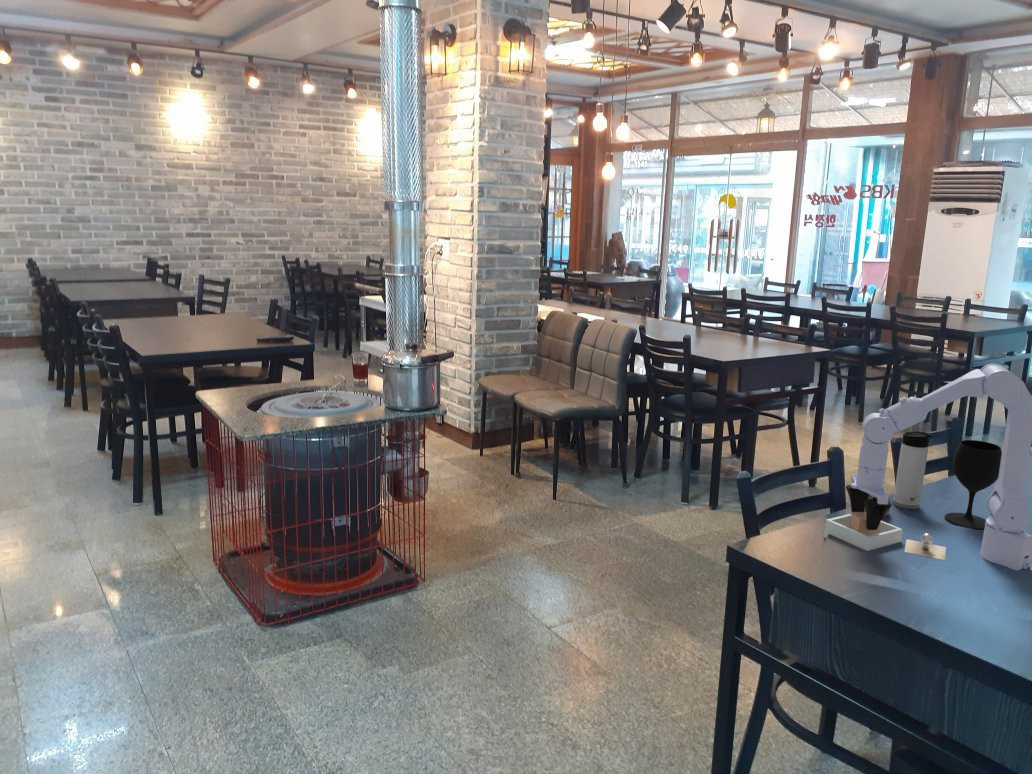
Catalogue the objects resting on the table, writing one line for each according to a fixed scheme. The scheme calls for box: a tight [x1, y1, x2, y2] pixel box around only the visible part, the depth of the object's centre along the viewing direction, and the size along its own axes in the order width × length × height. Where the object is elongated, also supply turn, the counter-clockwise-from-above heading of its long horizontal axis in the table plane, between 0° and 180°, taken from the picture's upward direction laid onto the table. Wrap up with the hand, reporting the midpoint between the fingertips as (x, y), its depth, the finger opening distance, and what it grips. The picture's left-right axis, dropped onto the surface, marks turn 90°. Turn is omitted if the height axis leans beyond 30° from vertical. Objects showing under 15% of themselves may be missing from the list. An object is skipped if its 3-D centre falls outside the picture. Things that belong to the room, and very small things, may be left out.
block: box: [849, 512, 878, 536], centre depth 183 cm, size 4×4×6 cm
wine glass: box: [943, 439, 1002, 531], centre depth 196 cm, size 10×10×20 cm
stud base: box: [904, 533, 947, 561], centre depth 177 cm, size 8×8×5 cm
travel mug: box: [892, 431, 933, 510], centre depth 206 cm, size 6×7×20 cm
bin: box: [823, 513, 903, 552], centre depth 183 cm, size 12×12×4 cm
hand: (864, 522), depth 183 cm, fingers open, 7 cm apart
